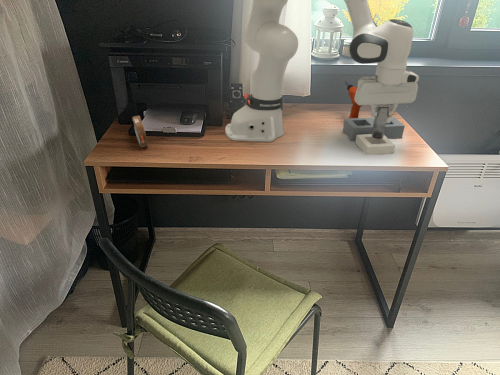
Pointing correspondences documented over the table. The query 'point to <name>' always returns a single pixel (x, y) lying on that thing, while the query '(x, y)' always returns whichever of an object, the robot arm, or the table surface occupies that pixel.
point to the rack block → (374, 144)
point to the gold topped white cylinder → (389, 118)
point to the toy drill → (353, 101)
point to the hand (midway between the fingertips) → (381, 115)
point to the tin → (140, 131)
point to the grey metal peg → (380, 121)
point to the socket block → (371, 128)
